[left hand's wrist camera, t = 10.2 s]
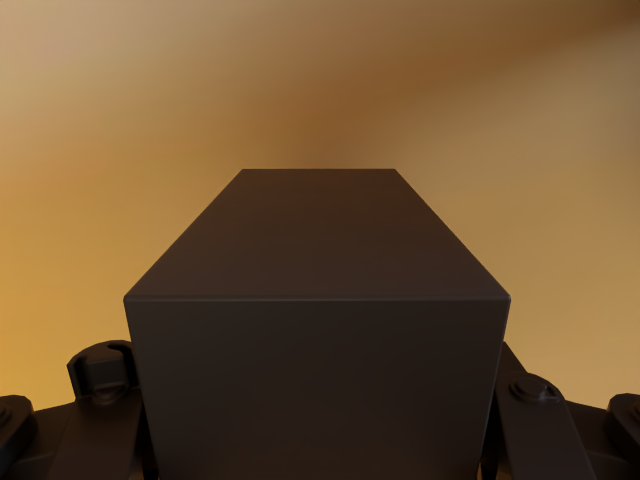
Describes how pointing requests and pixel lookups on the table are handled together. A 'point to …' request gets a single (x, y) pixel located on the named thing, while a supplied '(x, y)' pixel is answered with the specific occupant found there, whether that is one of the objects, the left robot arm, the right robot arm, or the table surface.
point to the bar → (317, 335)
